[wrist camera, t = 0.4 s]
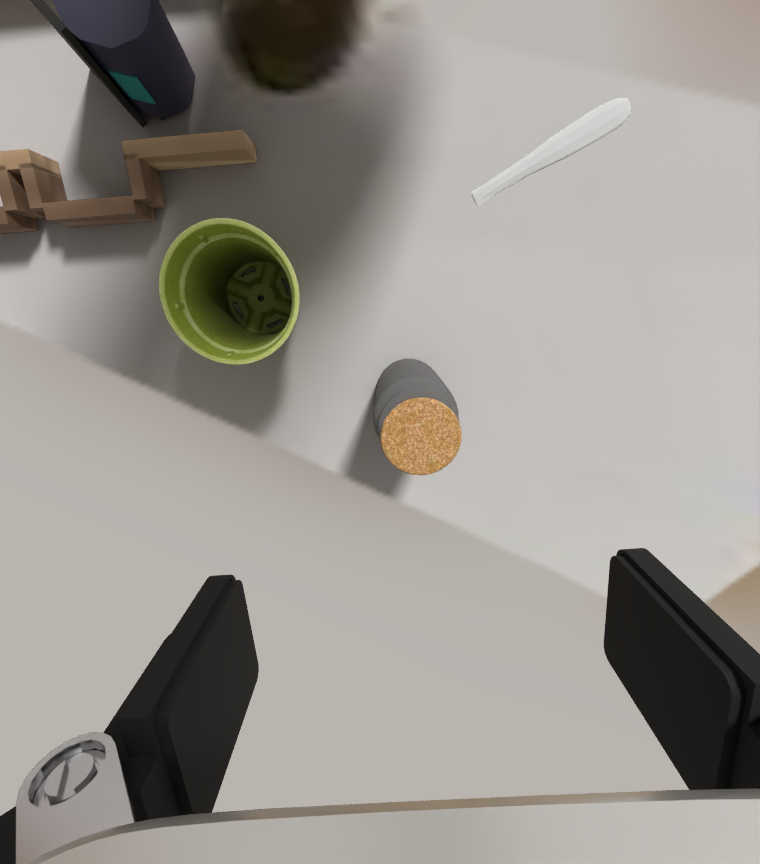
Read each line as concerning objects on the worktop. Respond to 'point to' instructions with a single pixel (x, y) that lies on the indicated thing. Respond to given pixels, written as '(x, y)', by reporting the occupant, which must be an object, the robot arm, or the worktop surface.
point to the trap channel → (45, 197)
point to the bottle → (416, 418)
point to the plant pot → (228, 291)
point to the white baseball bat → (560, 146)
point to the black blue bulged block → (128, 52)
